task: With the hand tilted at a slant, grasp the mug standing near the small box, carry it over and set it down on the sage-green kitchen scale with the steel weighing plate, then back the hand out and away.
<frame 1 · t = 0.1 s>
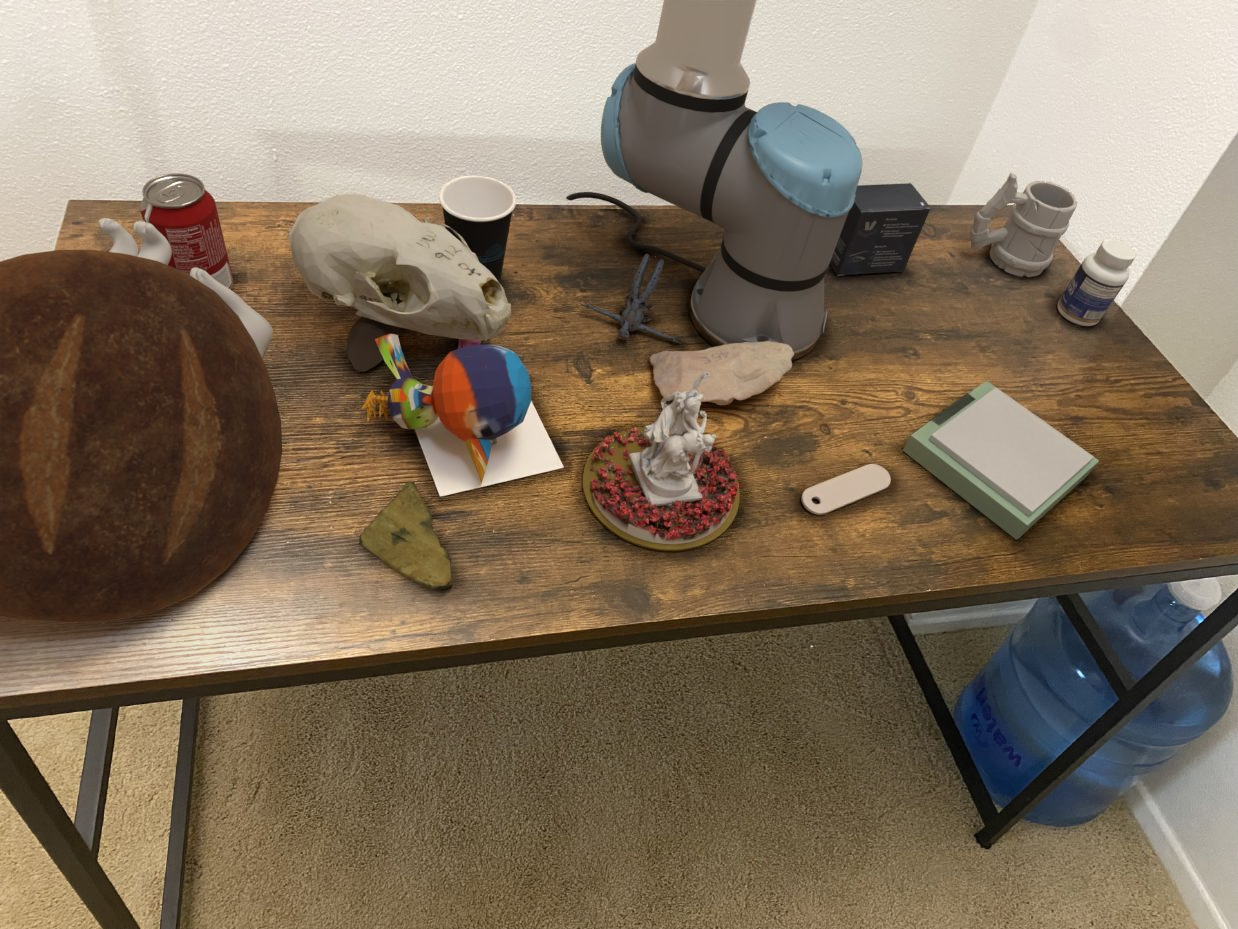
thin white square sheet: (483, 437, 89), on the table, touching toy
mug: (1000, 260, 120), on the table
keychain: (836, 476, 91), on the table
toy: (375, 410, 86), point 2 cm above the table, touching thin white square sheet
scale: (995, 463, 96), on the table
figurine: (401, 282, 98), point 3 cm above the table, touching skull
headband: (497, 323, 97), point 2 cm above the table, touching dixie cup, skull
stone tool: (650, 377, 95), point 1 cm above the table
bread: (89, 435, 70), point 10 cm above the table, touching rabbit
dixie cup: (476, 282, 104), on the table, touching headband
skull: (403, 311, 93), point 4 cm above the table, touching figurine, headband
figurine 3: (661, 487, 88), on the table
stone: (436, 539, 82), on the table
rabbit: (189, 269, 80), point 13 cm above the table, touching bread
box: (861, 262, 116), on the table
figurine 2: (641, 300, 103), point 1 cm above the table
soda can: (200, 289, 98), on the table
pill bottle: (1076, 314, 115), on the table
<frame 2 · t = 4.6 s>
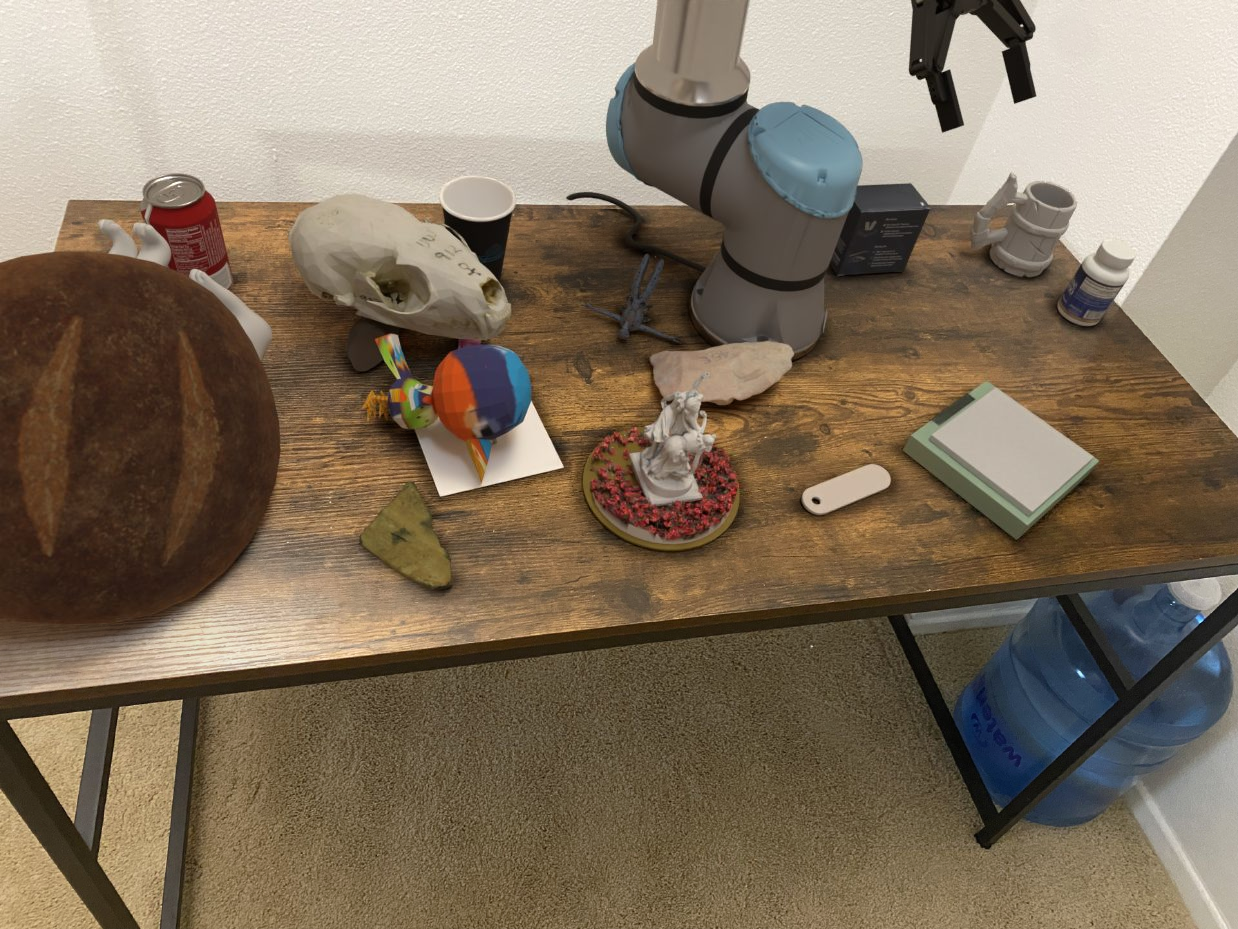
hand: (990, 114, 112), 16 cm above the table, tool tilted 45°, fingers open, 13 cm apart
headband: (497, 323, 97), point 2 cm above the table, touching dixie cup
skull: (403, 311, 93), point 4 cm above the table, touching figurine
everything else where it was.
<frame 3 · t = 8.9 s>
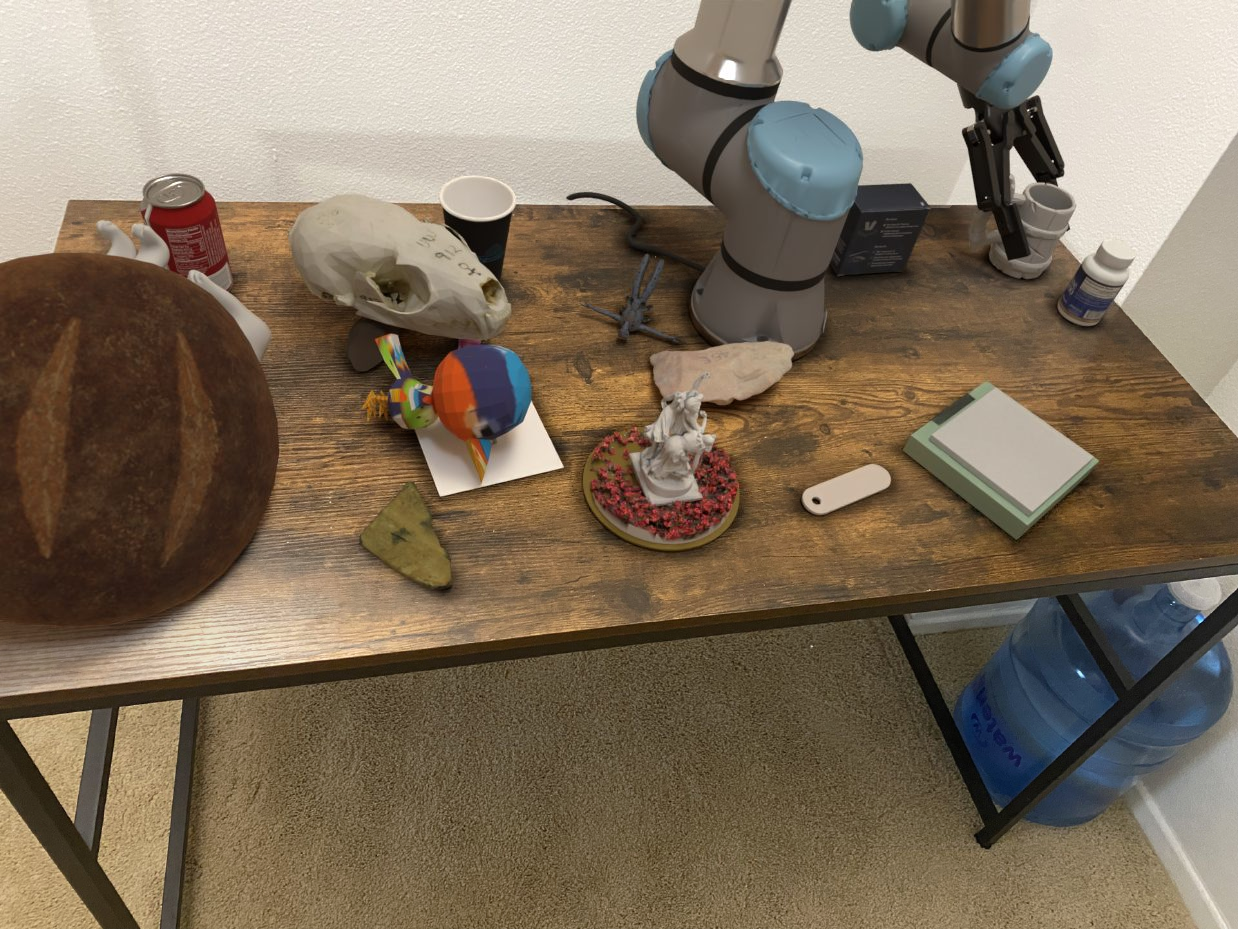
hand: (1039, 244, 116), 4 cm above the table, tool tilted 45°, fingers closed on mug, 9 cm apart
mug: (999, 261, 120), on the table, touching gripper
everything else where it was.
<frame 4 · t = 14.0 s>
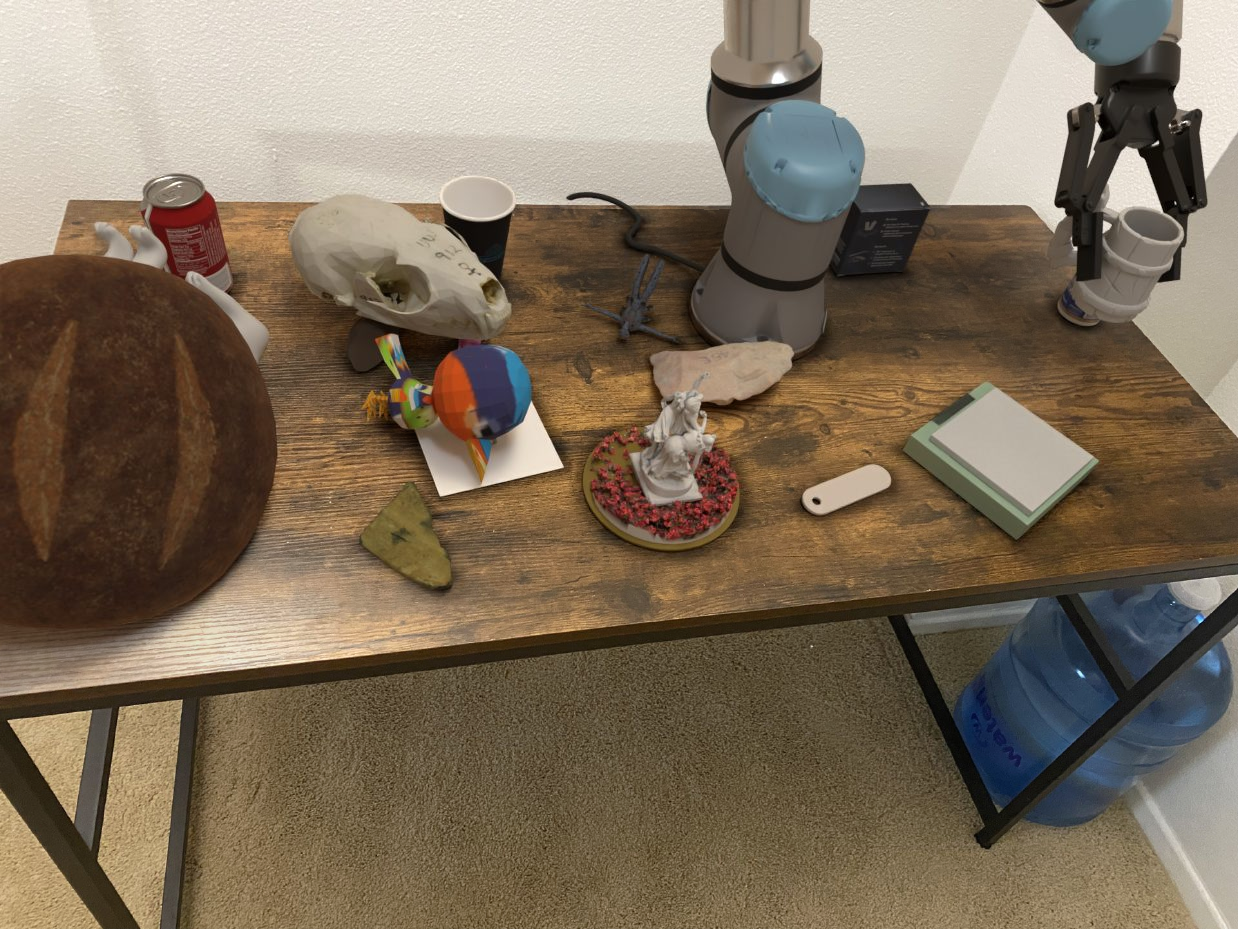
hand: (1127, 280, 94), 15 cm above the table, tool tilted 45°, fingers closed on mug, 8 cm apart
mug: (1084, 294, 100), point 10 cm above the table, touching gripper
everything else where it was.
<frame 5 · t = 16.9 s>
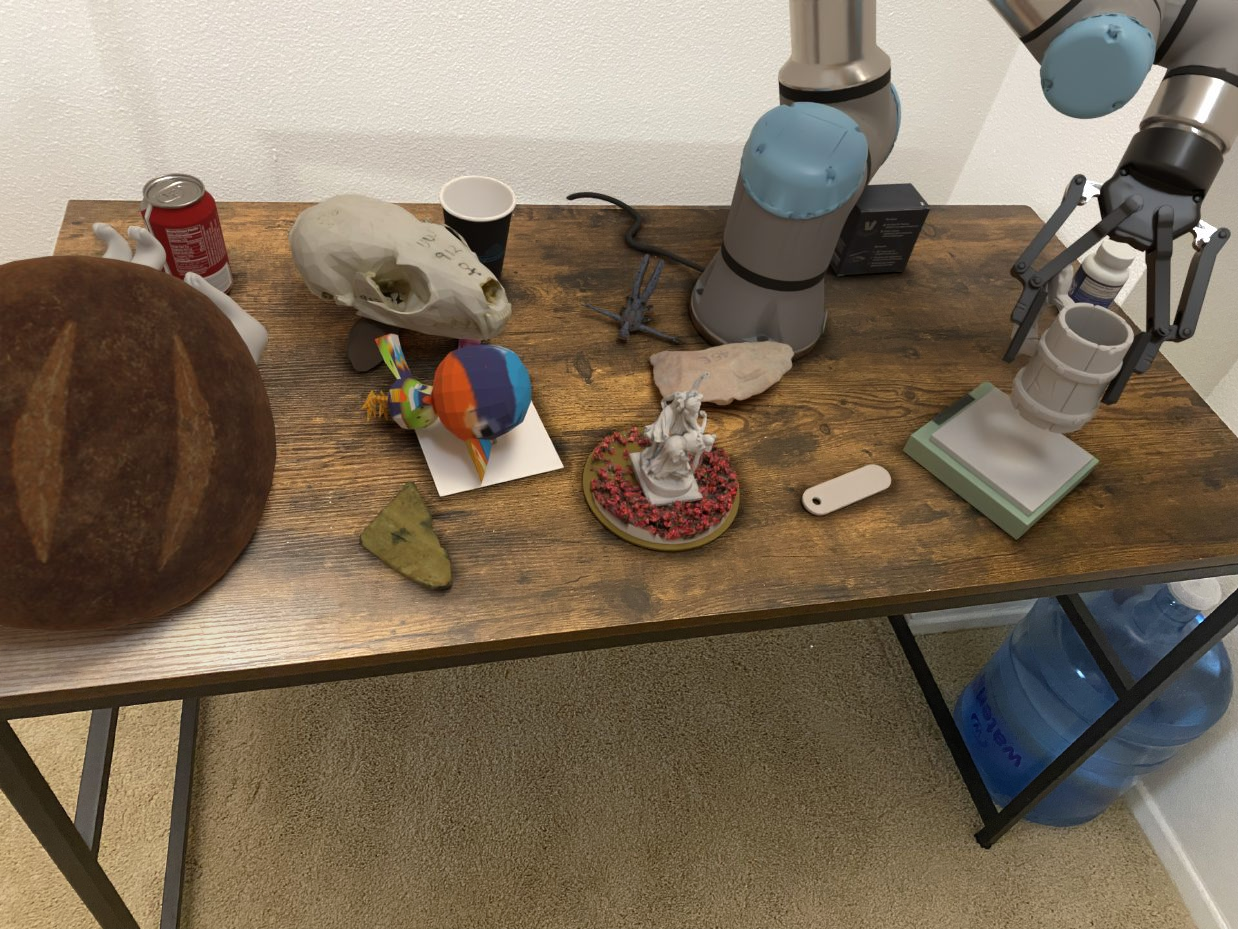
hand: (1057, 380, 83), 14 cm above the table, tool tilted 45°, fingers closed on mug, 8 cm apart
mug: (1034, 393, 88), point 10 cm above the table, touching gripper
everything else where it was.
when the fingers open (8 cm above the table, at t = 19.2 s): mug stays where it is, resting on scale.
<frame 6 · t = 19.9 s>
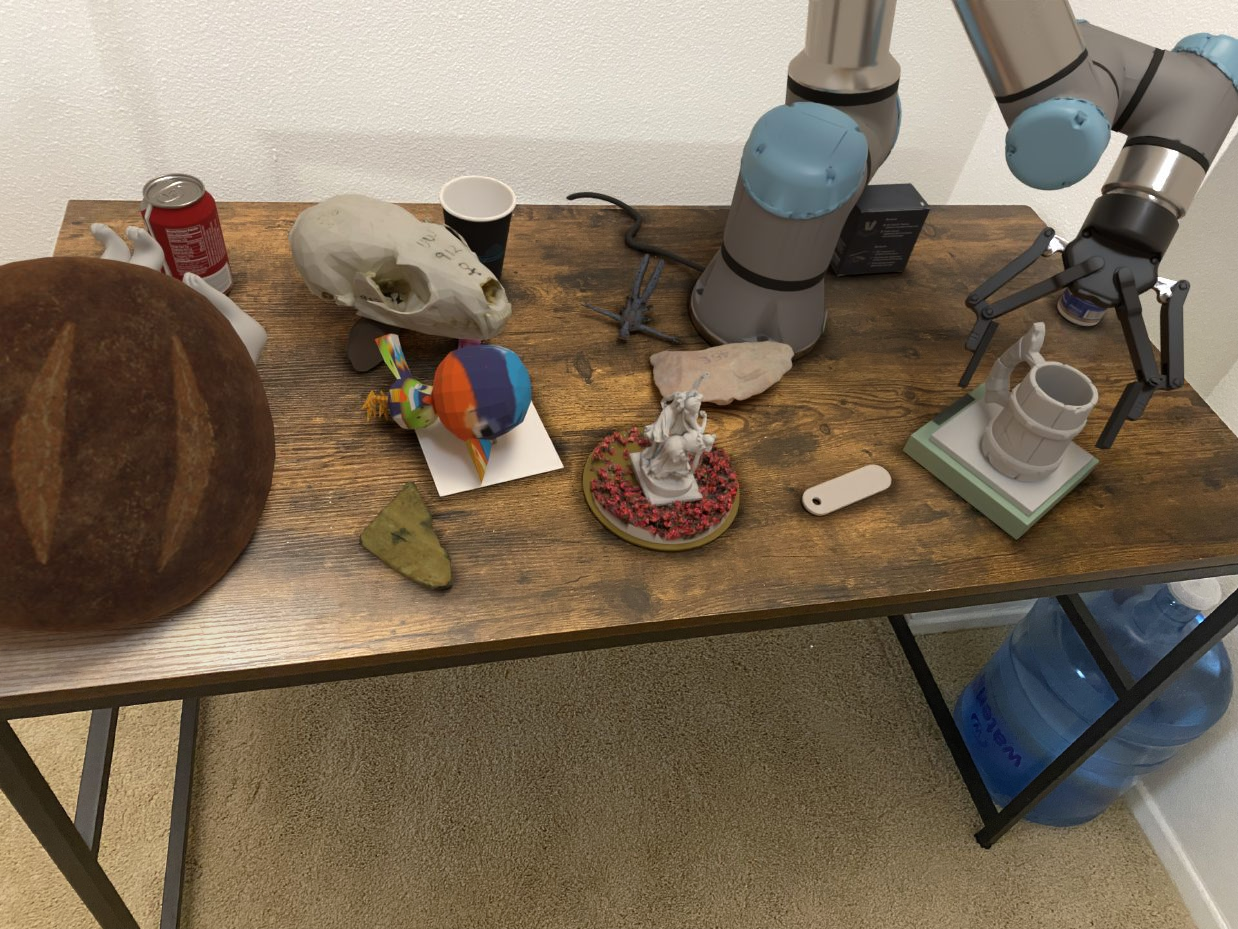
hand: (1030, 416, 87), 9 cm above the table, tool tilted 45°, fingers open, 13 cm apart
mug: (1004, 441, 93), point 3 cm above the table, touching scale
everything else where it was.
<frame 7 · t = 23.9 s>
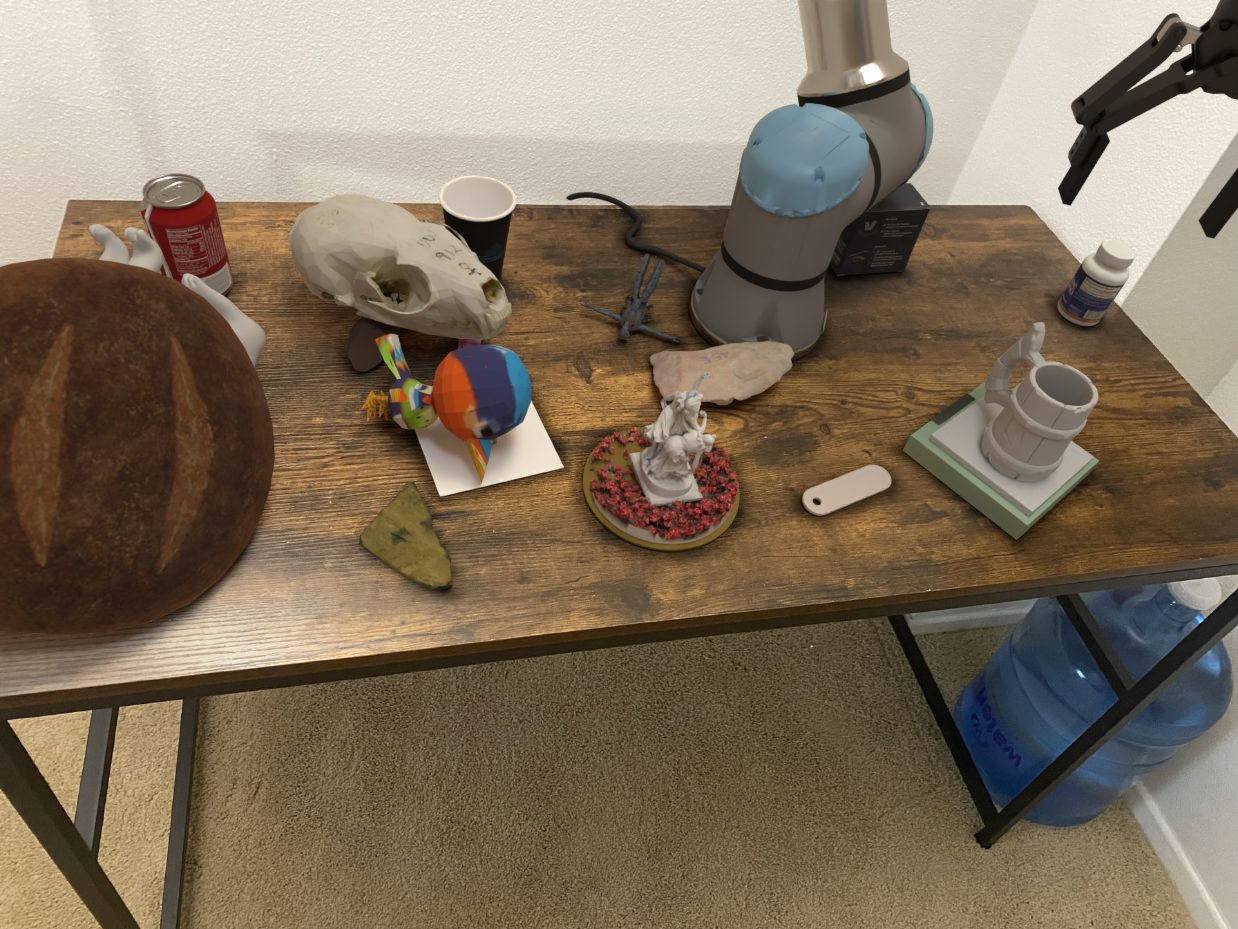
hand: (1134, 213, 85), 24 cm above the table, tool pointing down, fingers open, 13 cm apart
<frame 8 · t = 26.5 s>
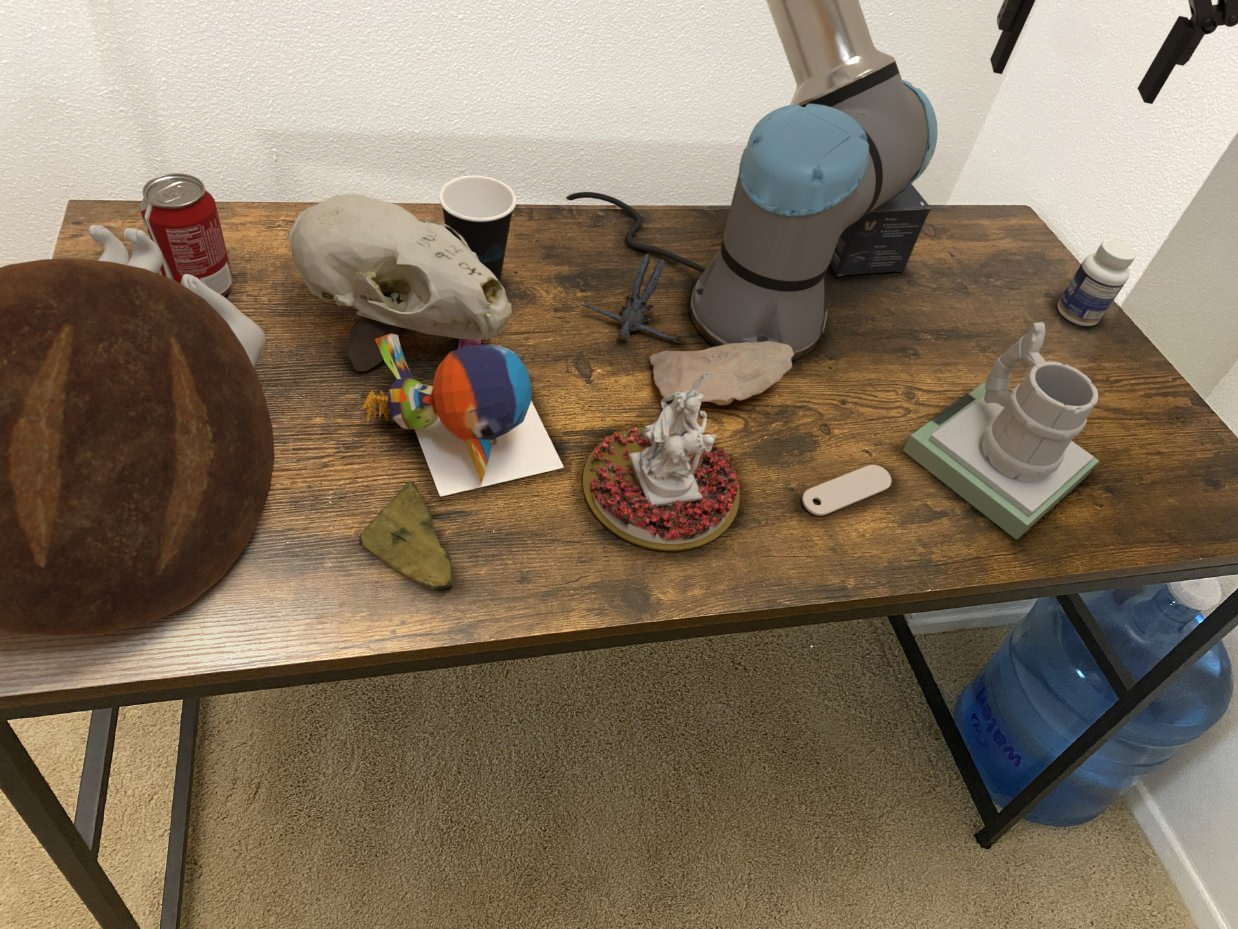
hand: (1070, 81, 83), 32 cm above the table, tool pointing down, fingers open, 13 cm apart
at the end: mug inside the target area on the scale (0.4 cm from its centre), point 3.0 cm above the scale's base; mug tilted 0°; the gripper is holding nothing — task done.
